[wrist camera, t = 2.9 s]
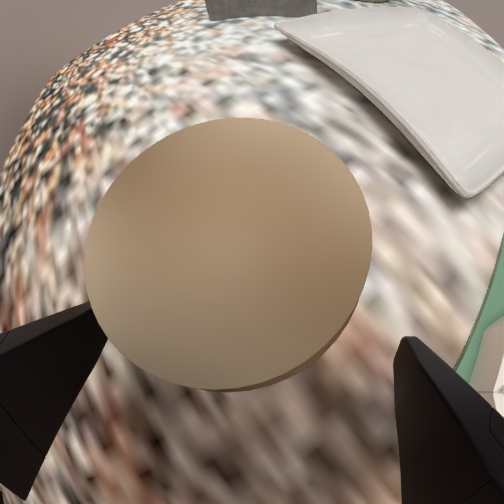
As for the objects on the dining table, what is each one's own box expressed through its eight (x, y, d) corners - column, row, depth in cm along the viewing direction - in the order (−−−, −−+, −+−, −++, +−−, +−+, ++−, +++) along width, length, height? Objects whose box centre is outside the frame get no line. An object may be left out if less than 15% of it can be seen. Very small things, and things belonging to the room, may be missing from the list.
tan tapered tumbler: (291, 390, 15) (288, 458, 3) (211, 350, 17) (43, 292, 5) (330, 309, 17) (406, 162, 5) (251, 274, 18) (178, 99, 6)
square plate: (272, 47, 28) (268, 20, 25) (418, 24, 30) (421, 6, 26) (448, 223, 18) (472, 195, 14) (551, 139, 20) (563, 121, 16)
